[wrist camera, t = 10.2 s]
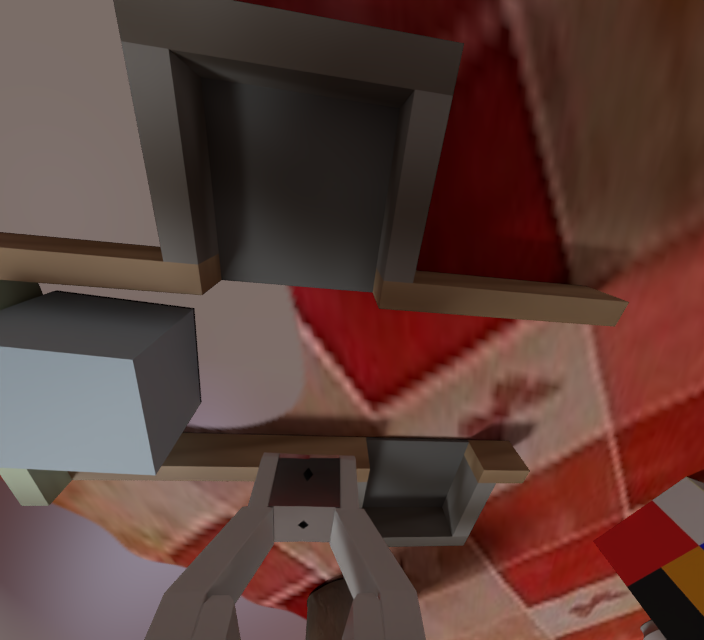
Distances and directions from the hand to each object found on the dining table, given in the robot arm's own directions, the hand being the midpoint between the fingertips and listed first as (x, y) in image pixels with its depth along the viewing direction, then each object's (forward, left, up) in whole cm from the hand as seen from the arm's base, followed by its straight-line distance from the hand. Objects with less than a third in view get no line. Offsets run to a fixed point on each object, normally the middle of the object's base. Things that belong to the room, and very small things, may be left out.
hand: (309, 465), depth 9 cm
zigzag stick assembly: (+1, 0, -6) cm, 6 cm away
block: (0, -9, -7) cm, 11 cm away
